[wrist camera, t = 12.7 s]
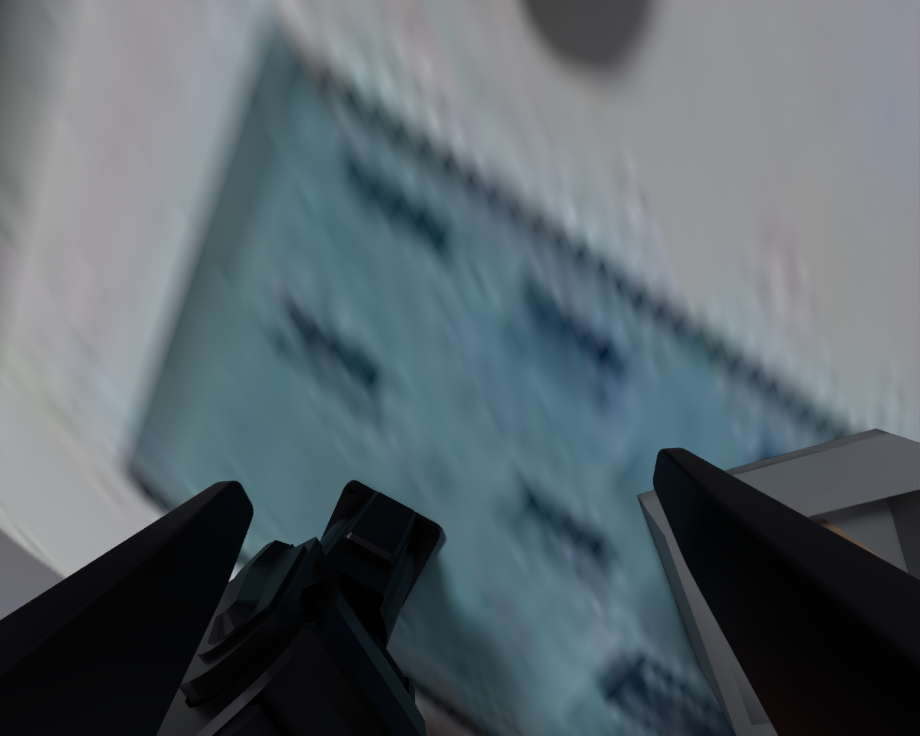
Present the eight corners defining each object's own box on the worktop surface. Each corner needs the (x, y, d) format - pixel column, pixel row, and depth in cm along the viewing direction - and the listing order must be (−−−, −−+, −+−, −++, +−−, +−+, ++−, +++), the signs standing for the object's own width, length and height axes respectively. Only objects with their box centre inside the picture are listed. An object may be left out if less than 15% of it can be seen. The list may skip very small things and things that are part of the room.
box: (700, 669, 20) (738, 741, 17) (637, 495, 19) (664, 534, 16) (932, 628, 18) (1029, 701, 15) (876, 428, 17) (967, 458, 14)
